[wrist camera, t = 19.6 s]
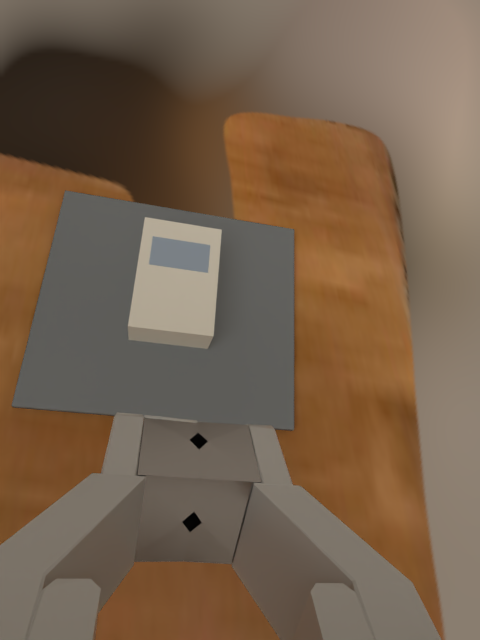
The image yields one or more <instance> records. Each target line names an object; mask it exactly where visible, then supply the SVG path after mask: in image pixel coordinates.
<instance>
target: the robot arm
mask: <svg viewBox="0 0 480 640" xmlns="http://www.w3.org/2000/svg"><path fill="white" fill-rule="evenodd" d="M143 420H144V423H143ZM142 428H143V430H142ZM141 436H142V437H141ZM140 444H141V445H140ZM161 561H185V562H203V563H222V564H232V567H233V569H234V570H235V572H236V573H237V575H238V576H239V578H240V580H241V581H242V583H243V584H244V586H245V587H246V589H247V590H248V592H249V593H250V595H251V596H252V598H253V599H254V601H255V602H256V604H257V605H258V607H259V608H260V610H261V611H262V613H263V614H264V616H265V617H266V619H267V620H268V622H269V623H270V625H271V626H272V628H273V629H274V631H275V632H276V634H277V635H278V637H279V638H280V640H441V638H440V636H439V634H438V632H437V630H436V628H435V626H434V624H433V622H432V620H431V618H430V616H429V614H428V612H427V610H426V609H425V607H424V605H423V603H422V601H421V599H420V597H419V595H418V593H417V591H416V589H415V587H414V585H413V583H412V582H411V581H410V580H409V579H407V578H406V577H405V576H404V575H403V574H402V573H401V572H399V571H398V570H397V569H396V568H395V567H394V566H392V565H391V564H390V563H389V562H388V561H387V560H386V559H384V558H383V557H382V556H381V555H380V554H379V553H377V552H376V551H375V550H374V549H373V548H372V547H370V546H369V545H368V544H367V543H366V542H365V541H364V540H362V539H361V538H360V537H359V536H358V535H357V534H355V533H354V532H353V531H352V530H351V529H350V528H349V527H347V526H346V525H345V524H344V523H343V522H342V521H340V520H339V519H338V518H337V517H336V516H335V515H334V514H332V513H331V512H330V511H329V510H328V509H327V508H325V507H324V506H323V505H322V504H321V503H320V502H319V501H317V500H316V499H315V498H314V497H313V496H312V495H310V494H309V493H308V492H307V491H306V490H305V489H303V488H302V487H301V486H295V485H293V484H292V481H291V478H290V475H289V472H288V469H287V466H286V462H285V459H284V456H283V453H282V450H281V447H280V444H279V441H278V438H277V435H276V432H275V429H274V428H273V427H272V426H271V425H253V424H247V425H242V424H229V423H216V422H202V421H197V420H188V419H178V418H169V417H160V416H151V415H145V416H143V415H141V414H130V413H118V412H117V413H116V415H115V416H114V420H113V424H112V428H111V433H110V437H109V441H108V446H107V450H106V454H105V458H104V463H103V467H102V471H101V474H98V473H92V474H90V475H89V476H88V477H87V478H85V479H84V480H83V481H82V482H80V483H79V484H78V485H76V486H75V487H74V488H73V489H71V490H70V491H69V492H67V493H66V494H65V495H64V496H62V497H61V498H60V499H59V500H57V501H56V502H55V503H53V504H52V505H51V506H50V507H48V508H47V509H46V510H44V511H43V512H42V513H41V514H39V515H38V516H37V517H36V518H34V519H33V520H32V521H30V522H29V523H28V524H27V525H25V526H24V527H23V528H22V529H20V530H19V531H18V532H16V533H15V534H14V535H13V536H11V537H10V538H9V539H7V540H6V541H5V542H4V543H2V544H1V545H0V640H95V636H96V627H97V618H98V613H99V611H100V610H101V609H102V607H103V606H104V605H105V603H106V602H107V601H108V599H109V598H110V596H111V595H112V594H113V592H114V591H115V590H116V588H117V587H118V586H119V584H120V583H121V581H122V580H123V579H124V577H125V576H126V575H127V573H128V572H129V570H130V569H131V568H132V566H133V565H134V562H161Z"/></svg>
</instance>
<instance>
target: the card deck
mask: <svg viewBox="0 0 480 640" xmlns="http://www.w3.org/2000/svg"><path fill="white" fill-rule="evenodd" d="M221 233H222V230H221V229H215V228H209V227H202V226H196V225H190V224H184V223H178V222H172V221H166V220H160V219H154V218H148V217H145V220H144V226H143V233H142V239H141V245H140V252H139V258H138V264H137V271H136V277H135V284H134V290H133V296H132V303H131V309H130V315H129V322H128V337H129V340H134V341H143V342H151V343H160V344H169V345H178V346H186V347H195V348H204V349H208V347H209V345H210V343H211V341H212V339H213V337H214V324H215V311H216V298H217V285H218V272H219V259H220V246H221Z"/></svg>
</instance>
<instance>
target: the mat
mask: <svg viewBox="0 0 480 640" xmlns="http://www.w3.org/2000/svg"><path fill="white" fill-rule="evenodd" d="M145 217H148V218H154V219H160V220H166V221H172V222H178V223H184V224H190V225H196V226H202V227H209V228H215V229H221V230H222V233H221V246H220V259H219V272H218V285H217V298H216V311H215V324H214V337H213V339H212V341H211V343H210V345H209V347H208V349H204V348H195V347H186V346H178V345H169V344H160V343H151V342H143V341H134V340H129V337H128V322H129V315H130V309H131V303H132V296H133V290H134V284H135V277H136V271H137V264H138V258H139V252H140V245H141V239H142V233H143V226H144V220H145ZM12 407H15V408H27V409H39V410H51V411H63V412H75V413H87V414H99V415H111V416H115V415H116V413H117V412H118V413H130V414H141V415H143V416H145V415H151V416H160V417H169V418H178V419H188V420H197V421H202V422H216V423H229V424H242V425H247V424H253V425H271V426H272V427H273V428H274V429H278V430H290V431H292V430H294V229H289V228H283V227H277V226H271V225H265V224H259V223H253V222H247V221H241V220H236V219H229V218H224V217H218V216H212V215H206V214H200V213H194V212H189V211H183V210H177V209H170V208H165V207H159V206H153V205H147V204H141V203H136V202H130V201H124V200H118V199H112V198H106V197H100V196H94V195H88V194H83V193H77V192H71V191H65V194H64V198H63V202H62V206H61V210H60V214H59V218H58V222H57V226H56V230H55V234H54V238H53V242H52V246H51V250H50V254H49V258H48V262H47V266H46V270H45V274H44V278H43V282H42V286H41V290H40V294H39V298H38V302H37V306H36V310H35V314H34V318H33V322H32V326H31V330H30V334H29V338H28V342H27V346H26V350H25V354H24V358H23V362H22V366H21V370H20V374H19V378H18V382H17V386H16V390H15V394H14V398H13V402H12Z"/></svg>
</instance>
